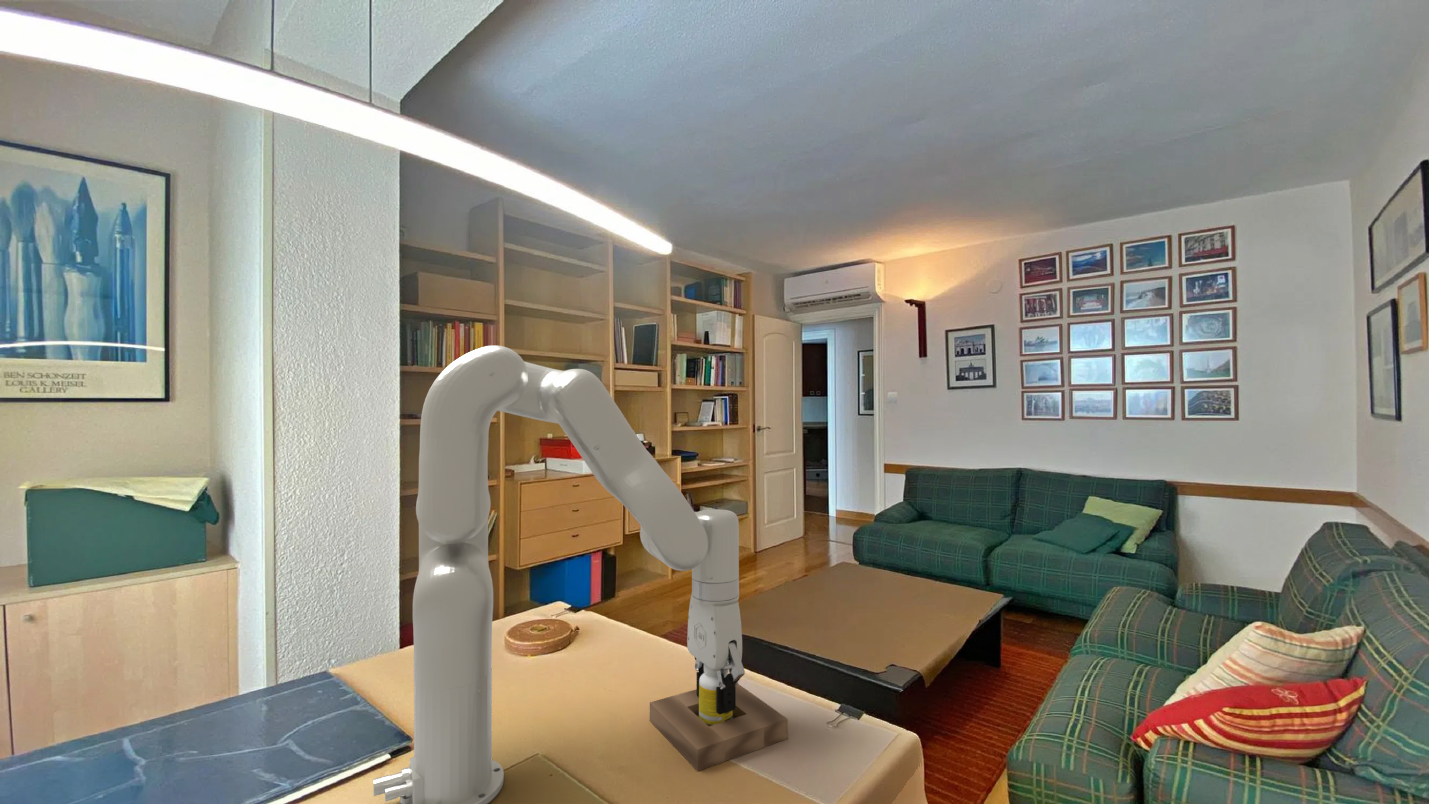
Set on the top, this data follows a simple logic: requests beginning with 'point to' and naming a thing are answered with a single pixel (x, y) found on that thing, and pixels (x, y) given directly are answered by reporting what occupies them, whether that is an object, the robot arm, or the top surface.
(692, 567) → the robot arm
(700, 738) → the socket block
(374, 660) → the top surface
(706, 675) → the supplement bottle
